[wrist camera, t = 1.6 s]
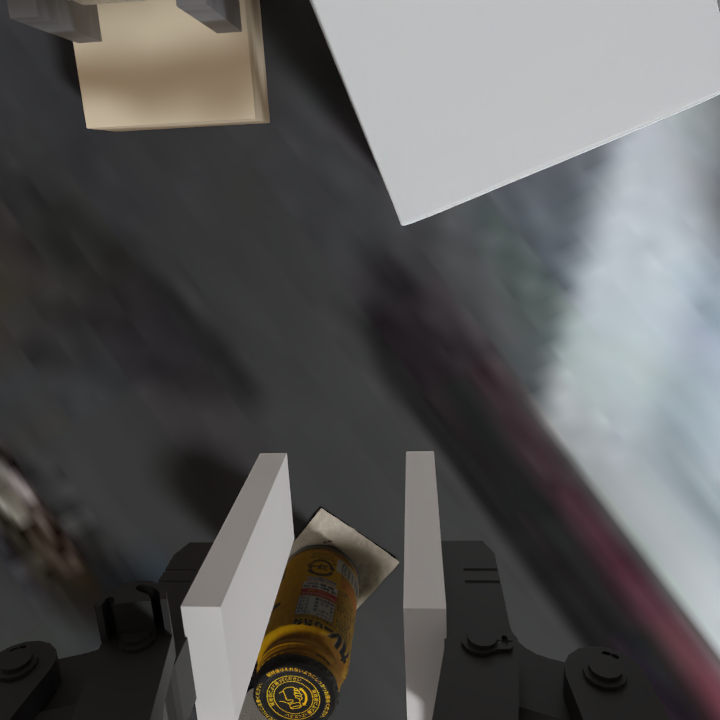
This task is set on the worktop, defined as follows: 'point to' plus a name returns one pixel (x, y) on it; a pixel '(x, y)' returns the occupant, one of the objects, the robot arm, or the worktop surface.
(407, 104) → the supplement box
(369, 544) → the condiment
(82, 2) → the lever
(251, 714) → the paper towel roll
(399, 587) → the worktop surface
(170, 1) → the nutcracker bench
